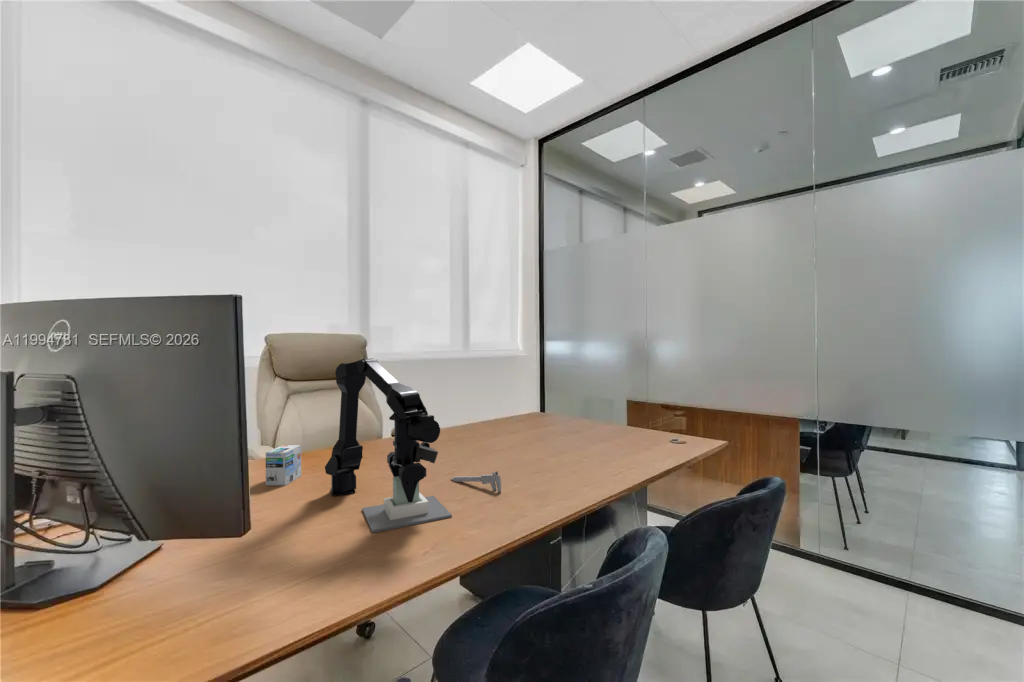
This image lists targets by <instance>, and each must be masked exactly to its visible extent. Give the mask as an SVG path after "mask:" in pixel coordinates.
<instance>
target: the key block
mask: <svg viewBox="0 0 1024 682" xmlns="http://www.w3.org/2000/svg"><path fill="white" fill-rule="evenodd" d="M419 493H420V481H419V482H418V484H417V487H416V490H415V494H414V498H413V501H412V502H408V501H407V498H406V495H405V493H404V490H403V487H402V485H401V482H400V480H399V476H397V477H394V476H392V497H393V505H394V506H397V505H403V504H408V503H414V502H419Z"/></svg>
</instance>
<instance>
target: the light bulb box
mask: <svg viewBox="0 0 1024 682" xmlns="http://www.w3.org/2000/svg"><path fill="white" fill-rule="evenodd" d="M301 477H302V445H300V444H296V445H295V444H282V445H279V446H278V447H275V448H273V449H271V450H268V451H266V452H265V486H287V485H289V484H291V483H292V482H293V481H295V480H297V479H298V478H301Z"/></svg>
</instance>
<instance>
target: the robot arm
mask: <svg viewBox="0 0 1024 682" xmlns="http://www.w3.org/2000/svg"><path fill="white" fill-rule="evenodd" d="M334 373H335V384H336V386H337V387H338V389H339V390H340V393H341V395H340V396H341V397H340V410H339V411H340V412H339V413H340V414H339V430H338V440H337V441H336V442H335V444H334V446H333V447H332V450H331V451H332V452H331V456H330V459H329V460H328V461H327V462H326V464H325V466H324V470H325V474H327V475H329V476H331V478H330V479H331V483H330V484H331V485H330V486H331V487H330V493H331V496H332V497H336V496H343V495H349V494H355V493H356V490H357V475H356V473H355V471H357V470H360V466H361V462H362V459H363V450H364V447H363V445H361V444H360V442H359V441H358V439H357V432H358V415H359V414H358V413H359V397H360V392H361V390H362V388H363V387H364V386H365V383H366V379H369V381H371V383H372V384H374V386H376V388H377V389H378V390H379V391H380V392H382V394H384V396H385V399H386V402H385V403H386V404H387V405H388V406H389V408H390V410H391V411H392V412H393V413H392V414H391V415H390V416H389V420H390V421H393V422H394V423H393V424H394V429H393V430H394V440H392V445H393V446H394V451H390V452H389V453H388V454H387V456H386V460H387V461H386V463H387V464H388V468H389V469H390V471H391V474H392V477H397V476H399V480H400V482H401V485H402V487H403V490H404V493H405V495H406V498H407V501H408V502H412V501H413V498H414V494H415V490H416V487H417V484H418V482H419V483H420V481H421V480H423V479H425V477H427V468H426V467H425V466H424V465H423V464H422V463H421V461H424V462H429V463H432V464H435V463H436V460H437V456H438V454H439V451H438V450H437V449H435V448H433V447H431V445H430V444H433V443H435V442H436V441H437V440H438V439H439V437H440V434H441V427H440V424H439V422H438V421H437V420H435V415H433V414H429V413H428V411H427V408H426V406H425V404H424V402H423V400H422V398H421V395H420V394H419V392H418V391H417V390H415V389H414V388H412V387H410V386H408V385H405V384H403V383H400V382H399V381H398V380H397V379H395V377H394V376H393V375H392V374H390V373H389V372H388V370H386V369H385V367H383V366H382V365H381V364H380V363H379V361H378V359H375V358H361V359H359V360H357V361H353V362H344V363H343V362H341V363H340V364H339V365H337V366H336V369H335V372H334ZM420 442H421V443H420Z"/></svg>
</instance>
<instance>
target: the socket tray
mask: <svg viewBox="0 0 1024 682" xmlns="http://www.w3.org/2000/svg"><path fill="white" fill-rule="evenodd" d="M361 511H362V513H363V515H364V517H365V519H366V521H367V523H368V526H369V529H370V531H371V533H372V534H375V533H379V532H385V531H390V530H394V529H398V528H399V529H400V528H404V527H409V526H414V525H415V526H416V525H420V524H424V523H429V522H433V521H438V520H443V519H448V518H452V517H453V514H452V513H451V512H450V511H449V510H448V509H447V508H446V507H445V506H444V505H443V504H442V503H441V501H439V499H438V498H436V497H435V495H429V496H428V495H427V496H424V495H423V494H422V493H421V492H419V502H414V503H408V504H403V505H397V506H394V505H393V496H391V497H385V498H383V503H382V504H377V505H372V506H367V507H362V510H361Z"/></svg>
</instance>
